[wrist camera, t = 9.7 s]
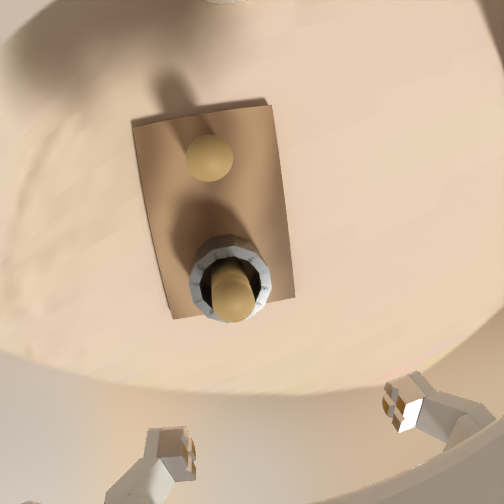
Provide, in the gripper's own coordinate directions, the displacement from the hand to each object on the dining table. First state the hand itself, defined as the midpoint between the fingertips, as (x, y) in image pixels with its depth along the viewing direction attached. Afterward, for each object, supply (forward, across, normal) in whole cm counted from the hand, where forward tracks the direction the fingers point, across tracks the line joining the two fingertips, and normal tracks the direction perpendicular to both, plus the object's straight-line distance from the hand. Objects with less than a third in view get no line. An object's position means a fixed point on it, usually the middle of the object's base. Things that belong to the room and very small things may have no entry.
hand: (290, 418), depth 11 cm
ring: (+19, +2, 0) cm, 19 cm away
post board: (+20, +2, -5) cm, 20 cm away
